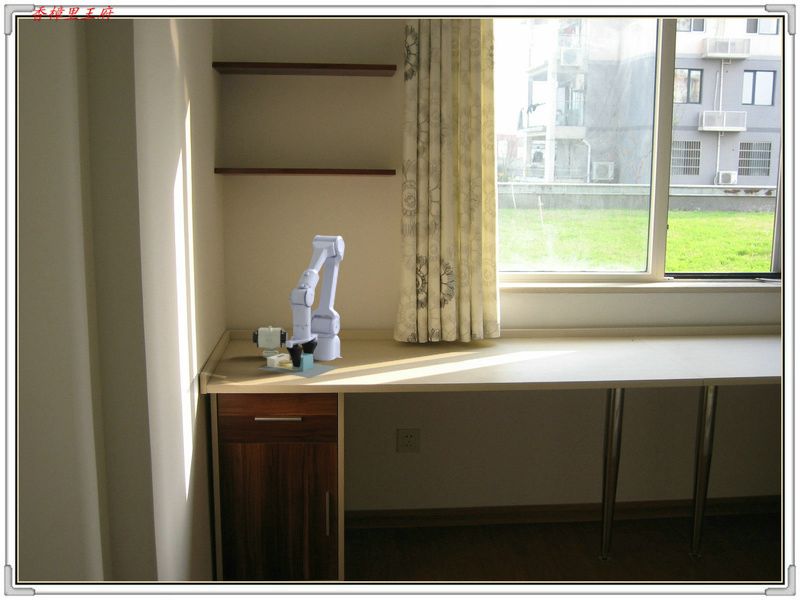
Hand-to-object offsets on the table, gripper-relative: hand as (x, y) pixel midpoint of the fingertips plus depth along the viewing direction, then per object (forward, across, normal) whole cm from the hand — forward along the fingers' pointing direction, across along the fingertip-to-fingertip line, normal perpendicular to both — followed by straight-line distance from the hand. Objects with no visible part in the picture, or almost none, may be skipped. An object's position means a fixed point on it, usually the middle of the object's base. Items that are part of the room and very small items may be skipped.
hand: (302, 364), depth 231 cm
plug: (+1, 0, 0) cm, 1 cm away
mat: (+2, 0, -2) cm, 3 cm away
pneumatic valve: (+2, -7, -20) cm, 21 cm away
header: (+1, 0, -9) cm, 9 cm away
